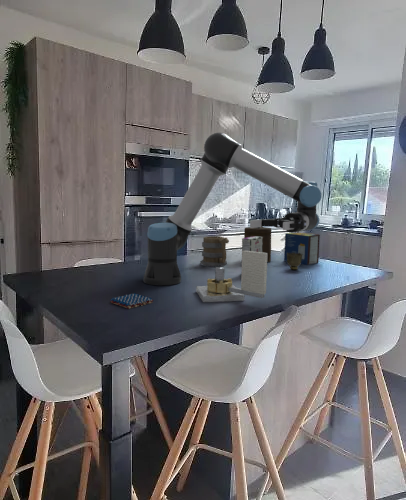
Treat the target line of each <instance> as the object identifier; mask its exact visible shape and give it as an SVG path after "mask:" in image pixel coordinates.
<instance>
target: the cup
mask: <svg viewBox="0 0 406 500" xmlns="http://www.w3.org/2000/svg"><path fill="white" fill-rule="evenodd" d="M302 255H303V254H302ZM302 255H301V254H300V253H296V254H295V253H293V252H292V253H287V261H286V263H287V265H288V266H290V267H289V269H290V270H292V271H297V270H298V268H299V266H301V265H302V264H301V260H302Z"/></svg>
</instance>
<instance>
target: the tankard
mask: <svg viewBox="0 0 406 500" xmlns="http://www.w3.org/2000/svg"><path fill="white" fill-rule="evenodd" d="M229 242H230V240H229V239H228V237H223V236H216V235H215V236H213V235H212V236H211V235H209V236H203V241H202V242H201V247H202V249H203V250H202V251H201V256H202V257H203V258H202V259H201V260H200V265H201V266H204V267H214V268H216V267H224V266H226V265H227V263H228V262H227V249H226V247H227V246H226V245H227V244H229Z"/></svg>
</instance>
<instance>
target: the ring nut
mask: <svg viewBox="0 0 406 500" xmlns="http://www.w3.org/2000/svg"><path fill="white" fill-rule="evenodd" d="M267 255H268V253H262V252H254V251H242V250H241V277H240V278H241V281H240V287H236V286H235V287H232V285H233V280H232V279H233V278H232V277H231V278H230V277H229V278H227V279H226V278H224V283H223V281H219V283H215V278H207V280H206V286H207V290H208V291H211V292H215V293H216V292H217V293H226V292H234V293H239V294H244V295H245V296H249V297H254V298H259V299H264V298H265V294H267V275H268V273H267V272H268V263H267Z"/></svg>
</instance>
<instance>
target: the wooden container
mask: <svg viewBox="0 0 406 500" xmlns="http://www.w3.org/2000/svg"><path fill="white" fill-rule="evenodd" d="M243 231H244V237H243V238H248V237H254V236H257V237H263V245H262V253H268V255H267V262H268V263H271V261H272V228H270V227H266V226H261V227H260V229H259V228H258V227H257V228H250V226H247V227H244V230H243Z"/></svg>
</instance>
